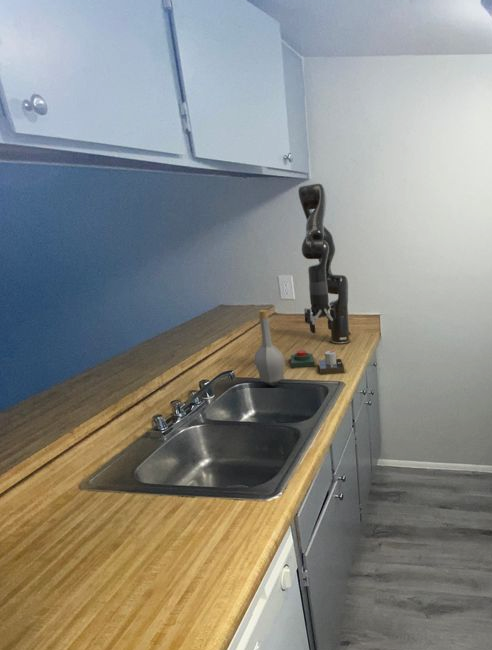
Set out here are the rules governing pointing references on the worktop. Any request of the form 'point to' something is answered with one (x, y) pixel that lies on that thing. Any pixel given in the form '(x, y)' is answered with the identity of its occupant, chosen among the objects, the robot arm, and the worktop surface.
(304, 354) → the nozzle button
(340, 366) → the dial panel
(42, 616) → the worktop surface
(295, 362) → the dark green button base
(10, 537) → the worktop surface
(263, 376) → the bottle
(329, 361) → the dial
